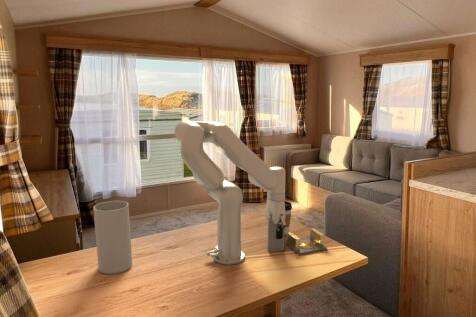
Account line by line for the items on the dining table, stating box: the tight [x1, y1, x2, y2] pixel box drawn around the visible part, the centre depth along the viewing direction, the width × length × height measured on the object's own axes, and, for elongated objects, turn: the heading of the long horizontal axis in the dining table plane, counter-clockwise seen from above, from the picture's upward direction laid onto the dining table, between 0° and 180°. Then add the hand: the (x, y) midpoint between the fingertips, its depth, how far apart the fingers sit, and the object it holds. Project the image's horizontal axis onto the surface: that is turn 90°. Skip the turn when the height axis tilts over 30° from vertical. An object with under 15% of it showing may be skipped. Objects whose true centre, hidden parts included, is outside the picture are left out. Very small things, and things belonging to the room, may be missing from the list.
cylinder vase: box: [92, 200, 133, 275], centre depth 137 cm, size 12×12×25 cm
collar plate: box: [284, 227, 328, 256], centre depth 156 cm, size 14×13×6 cm
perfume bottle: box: [266, 214, 285, 252], centre depth 154 cm, size 7×7×18 cm
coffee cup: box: [284, 200, 293, 236], centre depth 171 cm, size 8×8×15 cm
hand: (275, 234), depth 155 cm, fingers closed on perfume bottle, 7 cm apart
